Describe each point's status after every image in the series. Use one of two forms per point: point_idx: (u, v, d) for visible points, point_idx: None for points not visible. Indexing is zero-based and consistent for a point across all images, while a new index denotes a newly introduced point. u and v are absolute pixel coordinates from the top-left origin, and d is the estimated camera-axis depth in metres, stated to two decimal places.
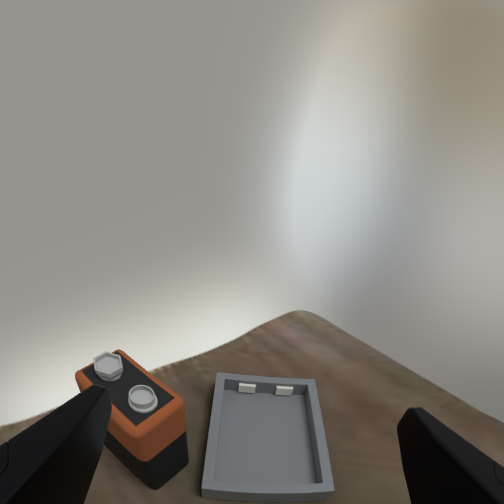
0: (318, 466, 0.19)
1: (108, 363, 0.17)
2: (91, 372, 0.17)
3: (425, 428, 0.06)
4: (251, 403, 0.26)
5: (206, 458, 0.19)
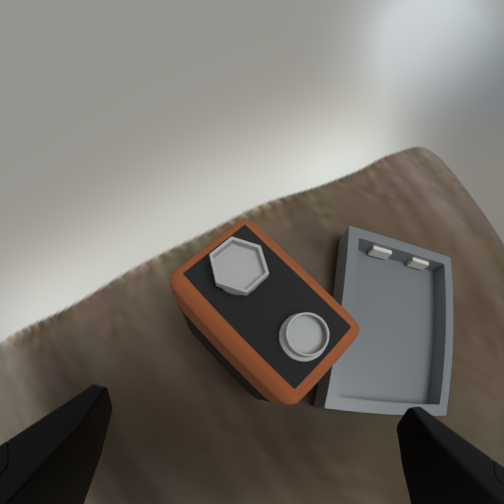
0: (438, 379, 0.17)
1: (237, 260, 0.11)
2: (203, 275, 0.11)
3: (425, 428, 0.06)
4: (381, 273, 0.22)
5: (334, 363, 0.17)
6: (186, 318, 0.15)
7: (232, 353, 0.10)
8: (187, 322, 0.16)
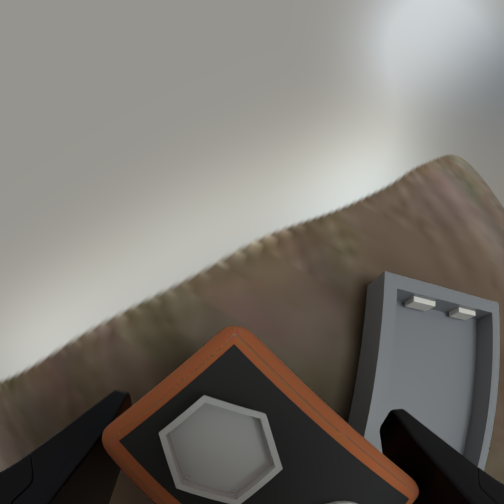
0: (474, 454, 0.11)
1: (218, 437, 0.05)
2: (155, 448, 0.05)
3: (407, 431, 0.06)
4: (419, 330, 0.15)
5: None
6: None
7: None
8: None
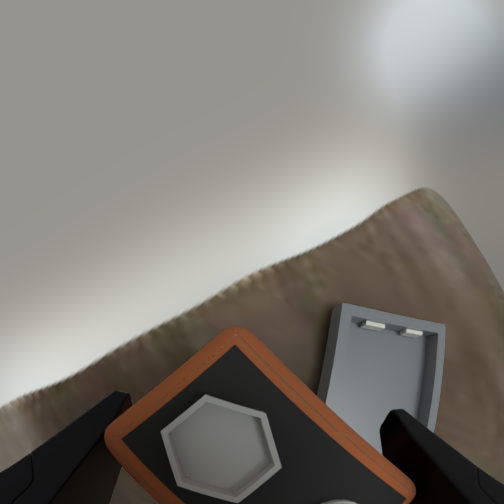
0: None
1: (218, 435, 0.05)
2: (156, 447, 0.05)
3: (406, 431, 0.06)
4: (372, 345, 0.21)
5: None
6: None
7: None
8: None
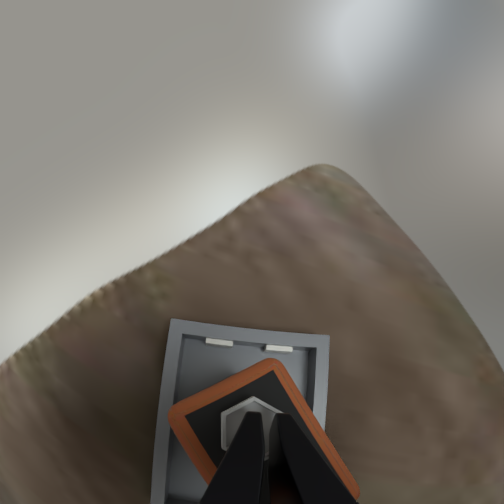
0: None
1: None
2: (207, 424, 0.08)
3: (280, 440, 0.06)
4: (225, 366, 0.18)
5: (153, 476, 0.13)
6: None
7: None
8: None
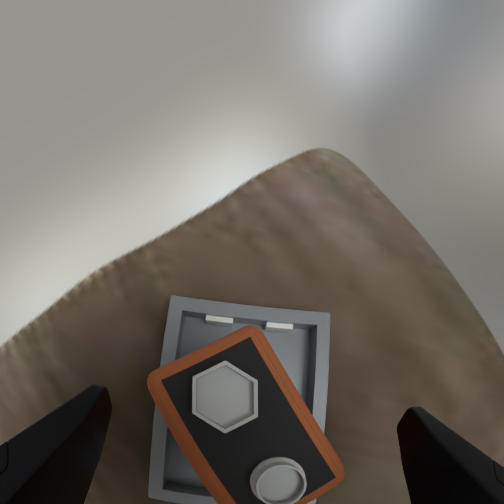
0: None
1: (225, 388, 0.08)
2: (183, 389, 0.09)
3: (425, 428, 0.06)
4: None
5: (152, 457, 0.13)
6: None
7: None
8: None
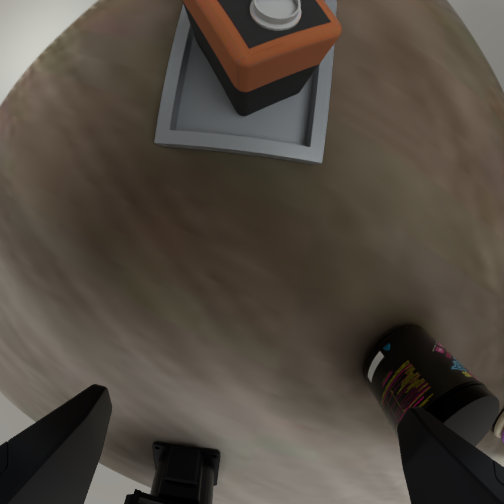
0: (312, 117, 0.16)
1: None
2: None
3: (425, 428, 0.06)
4: None
5: (163, 97, 0.15)
6: (187, 13, 0.12)
7: (202, 12, 0.08)
8: (190, 23, 0.13)
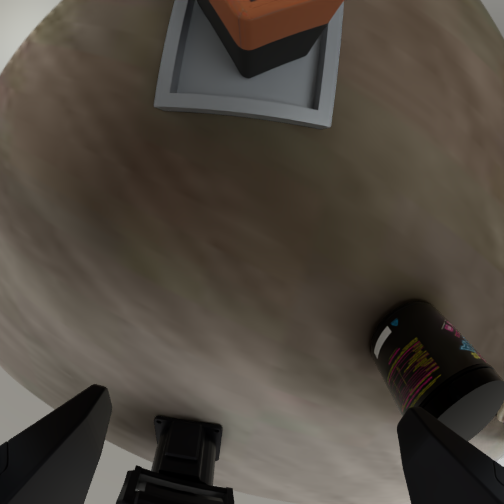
0: (320, 80, 0.15)
1: None
2: None
3: (425, 428, 0.06)
4: None
5: (162, 60, 0.14)
6: None
7: None
8: None
